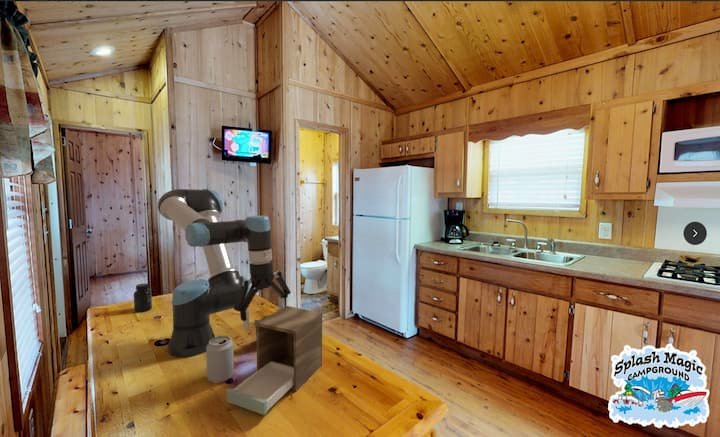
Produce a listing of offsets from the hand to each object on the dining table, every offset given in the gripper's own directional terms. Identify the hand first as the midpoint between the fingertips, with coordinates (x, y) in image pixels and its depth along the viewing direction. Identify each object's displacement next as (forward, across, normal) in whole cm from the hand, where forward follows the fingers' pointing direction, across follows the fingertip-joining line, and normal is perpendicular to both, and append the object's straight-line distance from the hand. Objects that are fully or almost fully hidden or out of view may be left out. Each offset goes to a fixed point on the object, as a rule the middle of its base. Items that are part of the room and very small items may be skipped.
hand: (265, 321), depth 109 cm
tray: (+10, -11, -18) cm, 24 cm away
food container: (+13, +6, +7) cm, 16 cm away
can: (+11, -17, -1) cm, 21 cm away
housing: (+12, -1, -14) cm, 19 cm away
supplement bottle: (+9, -19, +77) cm, 80 cm away
